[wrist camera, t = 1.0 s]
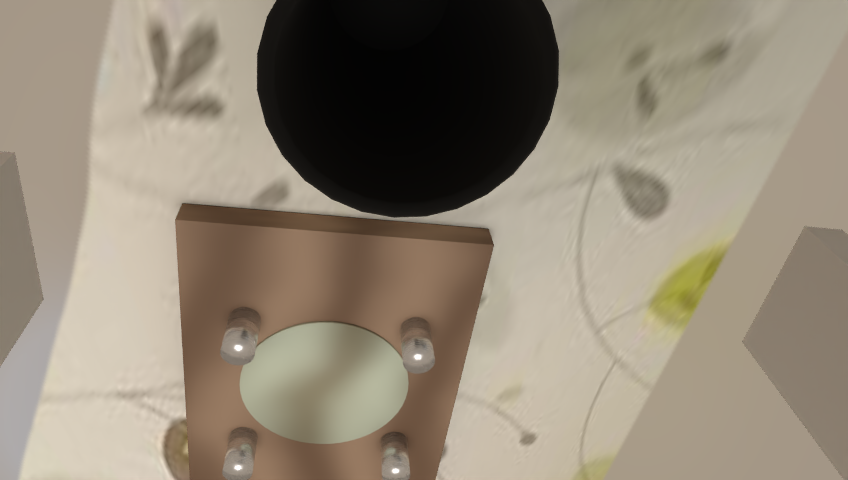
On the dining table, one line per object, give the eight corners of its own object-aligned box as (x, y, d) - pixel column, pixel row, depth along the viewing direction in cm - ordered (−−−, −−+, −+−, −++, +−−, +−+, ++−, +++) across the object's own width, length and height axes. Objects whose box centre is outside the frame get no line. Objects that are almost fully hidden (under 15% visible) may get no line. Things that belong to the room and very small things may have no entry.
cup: (503, 41, 28) (587, 164, 18) (340, 104, 29) (334, 254, 19) (447, -154, 24) (515, -134, 14) (258, -75, 25) (196, -3, 15)
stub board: (488, 229, 33) (503, 274, 30) (428, 480, 44) (434, 535, 41) (182, 203, 31) (161, 250, 28) (195, 476, 41) (182, 534, 38)
